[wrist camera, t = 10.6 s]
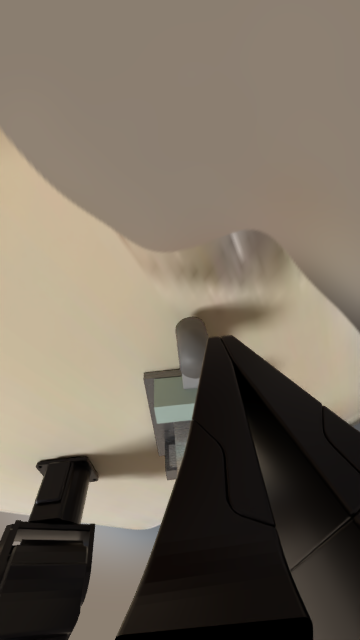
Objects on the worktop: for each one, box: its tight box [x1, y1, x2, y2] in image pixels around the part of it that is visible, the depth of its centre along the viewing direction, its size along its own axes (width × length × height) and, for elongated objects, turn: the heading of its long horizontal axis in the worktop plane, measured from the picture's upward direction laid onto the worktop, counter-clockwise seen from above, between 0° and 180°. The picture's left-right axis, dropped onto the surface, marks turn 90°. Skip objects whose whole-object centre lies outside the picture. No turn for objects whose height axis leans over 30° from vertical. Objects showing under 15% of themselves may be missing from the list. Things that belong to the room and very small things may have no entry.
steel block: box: [174, 420, 192, 475], centre depth 23 cm, size 5×4×6 cm
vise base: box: [144, 369, 182, 480], centre depth 25 cm, size 15×9×4 cm, turn 3°
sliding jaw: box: [154, 317, 209, 424], centre depth 19 cm, size 9×7×4 cm
